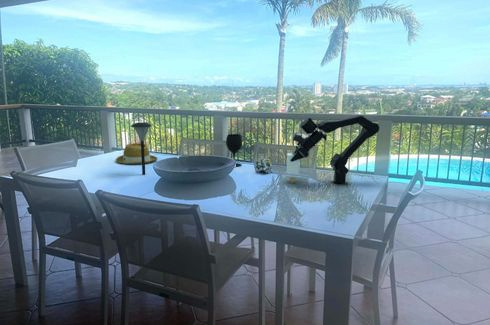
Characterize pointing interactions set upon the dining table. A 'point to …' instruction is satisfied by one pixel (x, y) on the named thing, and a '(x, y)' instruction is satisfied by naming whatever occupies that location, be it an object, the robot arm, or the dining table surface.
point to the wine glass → (234, 144)
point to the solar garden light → (142, 139)
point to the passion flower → (264, 165)
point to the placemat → (299, 183)
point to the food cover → (292, 164)
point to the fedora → (135, 154)
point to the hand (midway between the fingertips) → (290, 159)
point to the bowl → (292, 180)
